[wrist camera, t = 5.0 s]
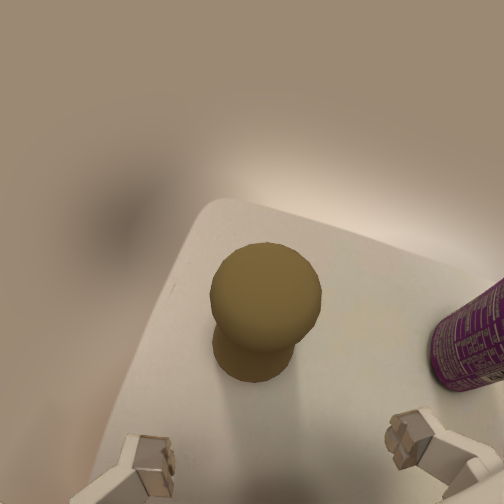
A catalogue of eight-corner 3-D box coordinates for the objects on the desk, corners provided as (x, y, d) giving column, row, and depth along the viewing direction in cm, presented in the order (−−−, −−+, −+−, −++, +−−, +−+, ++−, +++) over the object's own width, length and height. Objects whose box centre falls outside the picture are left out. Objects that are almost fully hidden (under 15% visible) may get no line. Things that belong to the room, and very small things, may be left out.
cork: (211, 382, 21) (193, 351, 12) (213, 303, 24) (202, 220, 15) (295, 381, 22) (347, 349, 12) (291, 304, 25) (330, 223, 15)
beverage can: (492, 362, 22) (585, 317, 12) (449, 409, 20) (558, 380, 10) (458, 304, 25) (543, 238, 15) (412, 343, 23) (510, 283, 13)
